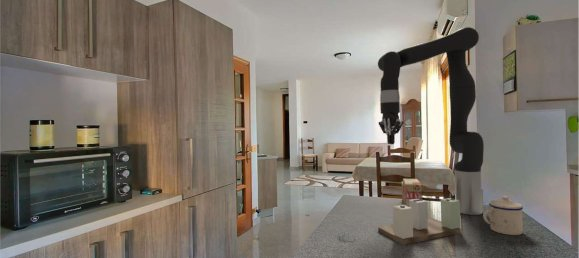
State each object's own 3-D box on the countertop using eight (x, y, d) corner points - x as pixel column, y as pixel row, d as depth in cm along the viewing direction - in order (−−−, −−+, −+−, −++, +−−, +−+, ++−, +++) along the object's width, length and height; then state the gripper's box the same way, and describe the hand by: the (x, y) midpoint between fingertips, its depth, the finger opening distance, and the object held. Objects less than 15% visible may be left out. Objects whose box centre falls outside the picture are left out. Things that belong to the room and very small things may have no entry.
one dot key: (403, 232, 91) (403, 203, 91) (413, 236, 88) (412, 207, 88) (393, 234, 90) (393, 205, 90) (402, 238, 86) (402, 208, 86)
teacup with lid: (508, 225, 100) (508, 192, 100) (530, 235, 91) (530, 199, 91) (475, 226, 100) (474, 193, 100) (494, 236, 91) (493, 200, 91)
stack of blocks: (401, 200, 138) (401, 175, 138) (415, 200, 136) (415, 175, 136) (405, 213, 118) (405, 183, 118) (422, 214, 116) (421, 184, 116)
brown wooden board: (431, 221, 106) (431, 217, 106) (460, 232, 94) (460, 228, 94) (378, 231, 97) (378, 227, 97) (403, 244, 86) (403, 239, 86)
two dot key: (450, 223, 98) (449, 197, 98) (460, 227, 94) (459, 199, 94) (441, 225, 97) (440, 198, 97) (451, 229, 93) (450, 201, 93)
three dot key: (418, 224, 98) (418, 197, 98) (427, 228, 95) (427, 200, 95) (409, 225, 97) (409, 199, 97) (418, 229, 93) (417, 201, 93)
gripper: (409, 100, 110) (410, 144, 110) (386, 103, 123) (387, 143, 123) (393, 100, 108) (394, 145, 108) (372, 103, 120) (373, 143, 120)
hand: (390, 144), depth 115 cm, fingers closed
